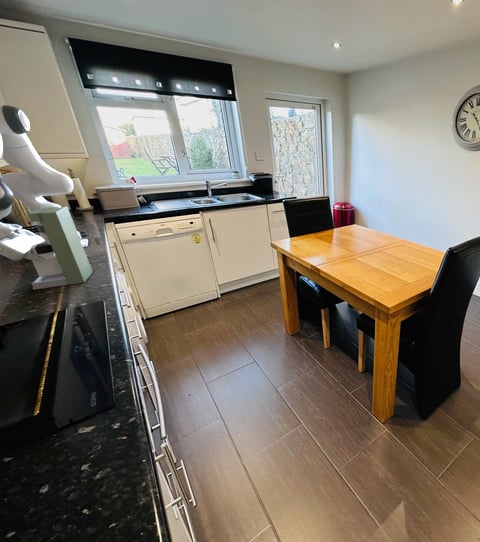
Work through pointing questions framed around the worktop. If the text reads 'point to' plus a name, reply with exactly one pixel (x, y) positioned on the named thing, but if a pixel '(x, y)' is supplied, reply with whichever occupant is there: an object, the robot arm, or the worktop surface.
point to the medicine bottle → (46, 260)
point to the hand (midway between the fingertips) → (47, 256)
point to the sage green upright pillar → (62, 248)
